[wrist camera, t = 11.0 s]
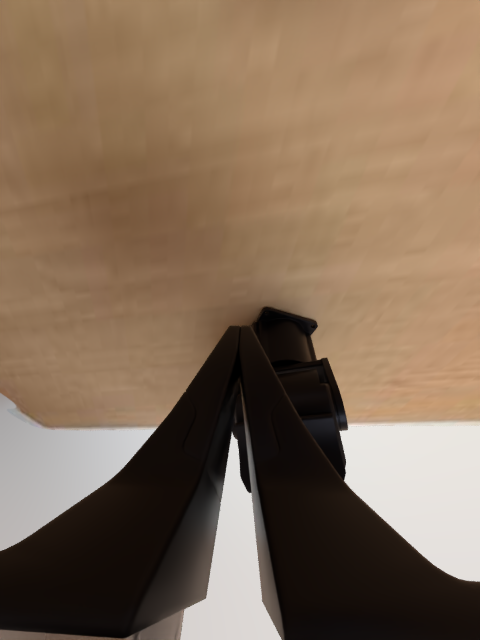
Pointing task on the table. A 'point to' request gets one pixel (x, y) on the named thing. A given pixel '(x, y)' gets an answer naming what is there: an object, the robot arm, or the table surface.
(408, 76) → the table surface
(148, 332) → the table surface
